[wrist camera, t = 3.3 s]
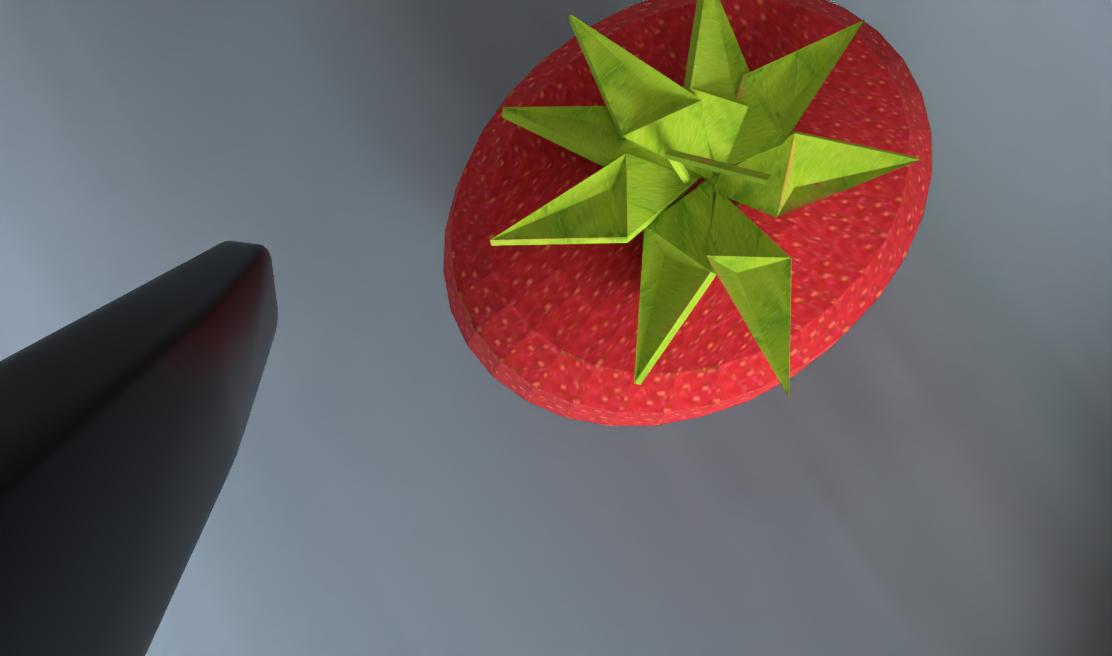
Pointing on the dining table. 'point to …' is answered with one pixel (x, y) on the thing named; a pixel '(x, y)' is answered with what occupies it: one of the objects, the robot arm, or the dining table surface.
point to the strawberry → (686, 207)
